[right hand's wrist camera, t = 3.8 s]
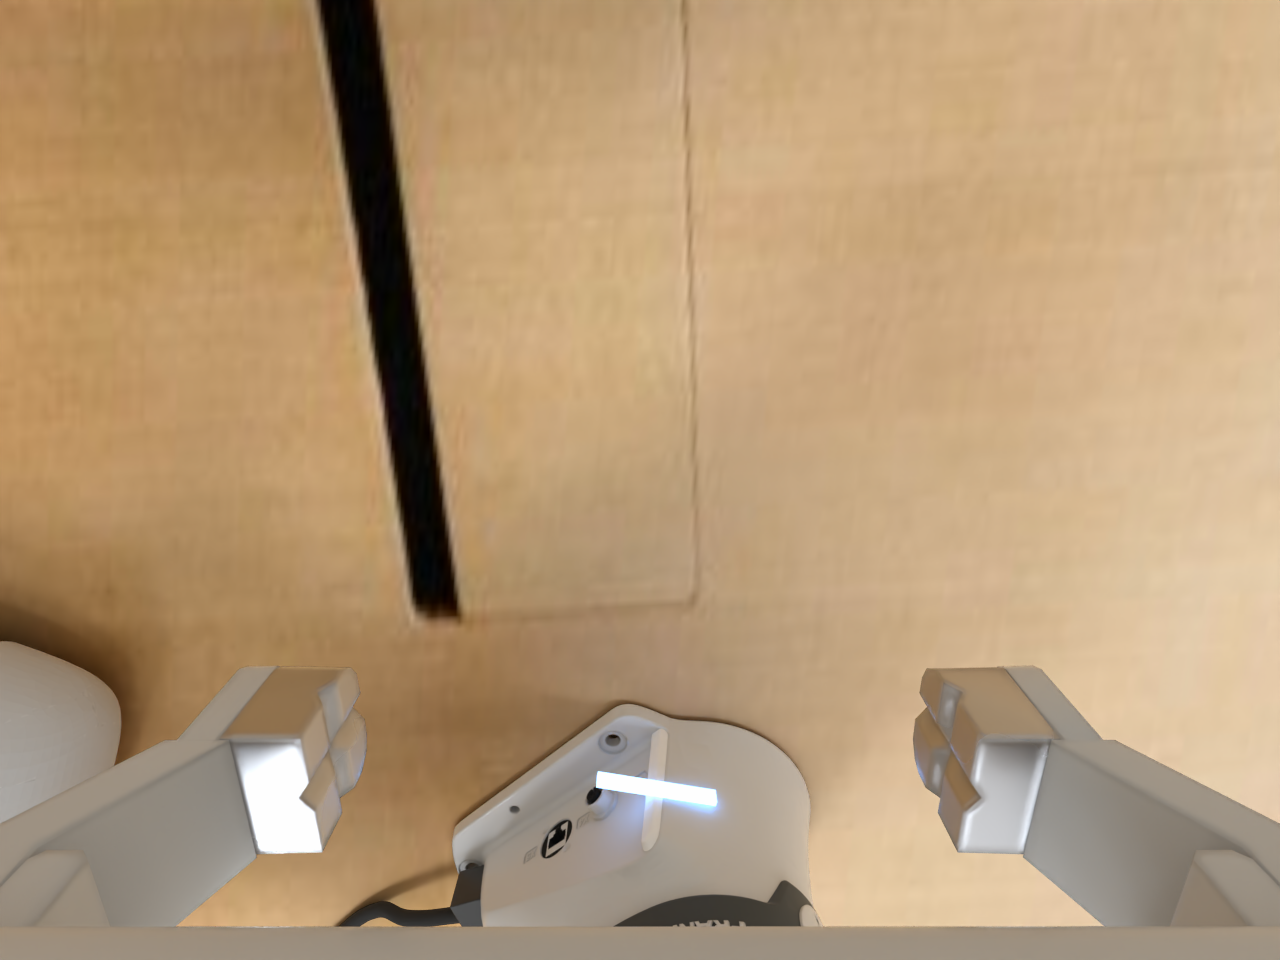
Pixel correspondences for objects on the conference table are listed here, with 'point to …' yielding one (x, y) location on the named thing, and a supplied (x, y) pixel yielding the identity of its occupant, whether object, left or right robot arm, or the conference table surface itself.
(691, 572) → the conference table surface
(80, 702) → the white rounded device
